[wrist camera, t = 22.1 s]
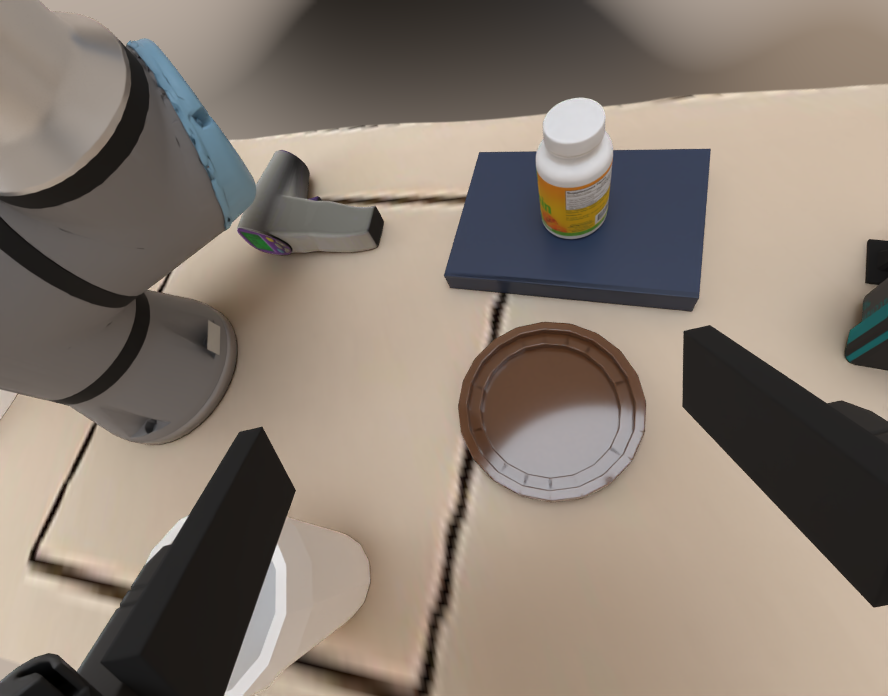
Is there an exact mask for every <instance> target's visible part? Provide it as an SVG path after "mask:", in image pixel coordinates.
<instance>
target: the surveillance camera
mask: <svg viewBox="0 0 888 696" xmlns="http://www.w3.org/2000/svg"><path fill="white" fill-rule="evenodd" d="M866 283H869V284H878V286H877V287H876V288H875V289H873V290H872V291H871V292H870V293H869V294H867V295H866V296H865V298H864V301H863V311H862V322H861V323H859V324H858V325H857V326H855V327H854V328H853V329H851V330H850V332H849V337H848V341H847V346H846V350H845V356H846V359H847V360H848V361H849V362H850V363H853V364H855V365H860V366H866V367H872V368H877V369H883V370H888V241H884V240H872V239H869V240H868V243H867V263H866Z"/></svg>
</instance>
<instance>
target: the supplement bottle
mask: <svg viewBox="0 0 888 696" xmlns="http://www.w3.org/2000/svg"><path fill="white" fill-rule="evenodd" d="M612 162H613V144H612V140H611V138H610V136H609V134H608V133H607V132H606V131H605V112H604V109H603V108H602V106H601V105H600V104H599V103H597V102H596V101H594V100H591V99H587V98H573V99H569V100H566V101H563V102H561V103H559V104H557V105H556V106H554V107H553V108H552V109H551V110H550V111H549V112H548V113H547V115H546V116H545V118H544V121H543V140H542V141H541V143H540V144H539V147H538V149H537V152H536V171H537V180H538V189H539V199H540V208H541V217H542V221H543V224H544V226H545V227H546V229H547V230H548V231H549V232H550V233H552V234H553V235H555V236H557V237H560V238H564V239H577V238H582V237H585V236H587V235H590V234H591V233H593V232H594V231H596V230H597V229H598V228H599V227H600V226H601V225H602V223H603V222H604V220H605V218H606V215H607V210H608V203H609V192H610V182H611V172H612Z"/></svg>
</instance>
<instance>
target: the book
mask: <svg viewBox="0 0 888 696" xmlns="http://www.w3.org/2000/svg"><path fill="white" fill-rule="evenodd" d="M710 151H711V149H668V150H613V162H612V172H611V182H610V192H609V203H608V210H607V215H606V218H605V220H604V222H603V223H602V225H601V226H600V227H599V228H598V229H597V230H596V231H594V232H593V233H591V234H590V235H587V236H585V237H582V238H577V239H564V238H560V237H557V236H555V235H553V234H552V233H550V232H549V231H548V230H547V229H546V227H545V226H544V224H543V221H542V217H541V208H540V199H539V189H538V180H537V171H536V152H537V151H535V152H479V155H478V159H477V162H476V166H475V169H474V173H473V176H472V180H471V183H470V187H469V190H468V194H467V197H466V201H465V204H464V208H463V211H462V215H461V218H460V222H459V225H458V229H457V232H456V235H455V239H454V242H453V246H452V249H451V253H450V256H449V260H448V263H447V267H446V270H445V274H444V276H445V278H446V280H447V282H448V284H449V286H450V288H459V289H469V290H479V291H490V292H500V293H510V294H520V295H531V296H541V297H551V298H561V299H572V300H582V301H592V302H602V303H612V304H623V305H633V306H643V307H653V308H664V309H674V310H684V311H692V310H693V308H694V306H695V304H696V302H697V300H698V299H699V292H700V279H701V266H702V254H703V241H704V228H705V215H706V202H707V189H708V176H709V163H710Z"/></svg>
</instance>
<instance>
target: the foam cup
mask: <svg viewBox="0 0 888 696" xmlns="http://www.w3.org/2000/svg"><path fill="white" fill-rule="evenodd" d="M188 516H189V515H188ZM188 516H186V517H184V518H182V519H180V520H179V521H178V522H177V523H176V524H175V525H174V526H173V527H172V529H171V530H170V531H169V532H168V533H167V534H166V535H165V536H164V537H163V538H162V540H161V541H160V542H159V543H158V544H157V545H156V546H155V547H154V548H153V550H152V551H151V553H150V556H149V558H148V560H147V562H148V561H149V560H150V559H151V558H152V557H153V556H154V555H155V554H156V553H157V552H158V551H159V550H160V549H161V548H162V547H163V546H166V545H171V544H172V542H173V541H174V539H175V537H176V536H177V534H178V532H179V531H180V529H181V528H182V526H183V524H184V523H185V521H186V519H187V518H188ZM147 562H146V563H147ZM145 565H146V564H145ZM369 585H370V568H369V560H368V558H367V556H366V554H365V552H364V550H363V548H362V546H361V544H359V543H358V542H357V541H355V540H354V539H352V538H351V537H350V536H348V535H346V534H344V533H341V532H337V531H334V530H331V529H327V528H324V527H320V526H317V525H314V524H310V523H307V522H303V521H300V520H297V519H293V518H290V517H286V520H285V523H284V526H283V528H282V531H281V534H280V537H279V540H278V543H277V546H276V548H275V551H274V554H273V557H272V560H271V563H270V566H269V569H268V571H267V574H266V577H265V580H264V583H263V586H262V589H261V591H260V594H259V597H258V600H257V603H256V606H255V609H254V611H253V614H252V617H251V620H250V623H249V626H248V629H247V632H246V634H245V637H244V640H243V643H242V646H241V649H240V652H239V654H238V657H237V660H236V663H235V666H234V669H233V672H232V674H231V677H230V680H229V683H228V686H227V689H226V692H225V695H224V696H252V695H254V694H256V693H258V692H260V691H262V690H263V689H265V688H267V687H269V686H270V684H271V683H272V682H273V681H274V680H275V678H276V677H277V676H278V675H279V674H280V672H282V671H283V670H284V669H286V668H287V667H288V666H290V665H291V664H292V663H294V662H295V661H296V660H297V659H299V658H300V657H301V656H303V655H304V654H305V653H307V652H308V651H309V650H311V649H312V648H313V647H314V646H316V645H317V644H318V643H320V642H321V641H322V640H324V639H325V638H326V637H328V636H329V635H330V634H331V633H333V632H334V631H335V630H337V629H338V628H339V627H341V626H342V625H343V624H345V623H346V622H347V621H348V620H349V619H350V618H352V617H353V615H354V614H355V613H356V612H357V610H358V609H359V608H360V607H361V606H362V604H363V603H364V601H365V598H366V595H367V592H368V588H369Z"/></svg>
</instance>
